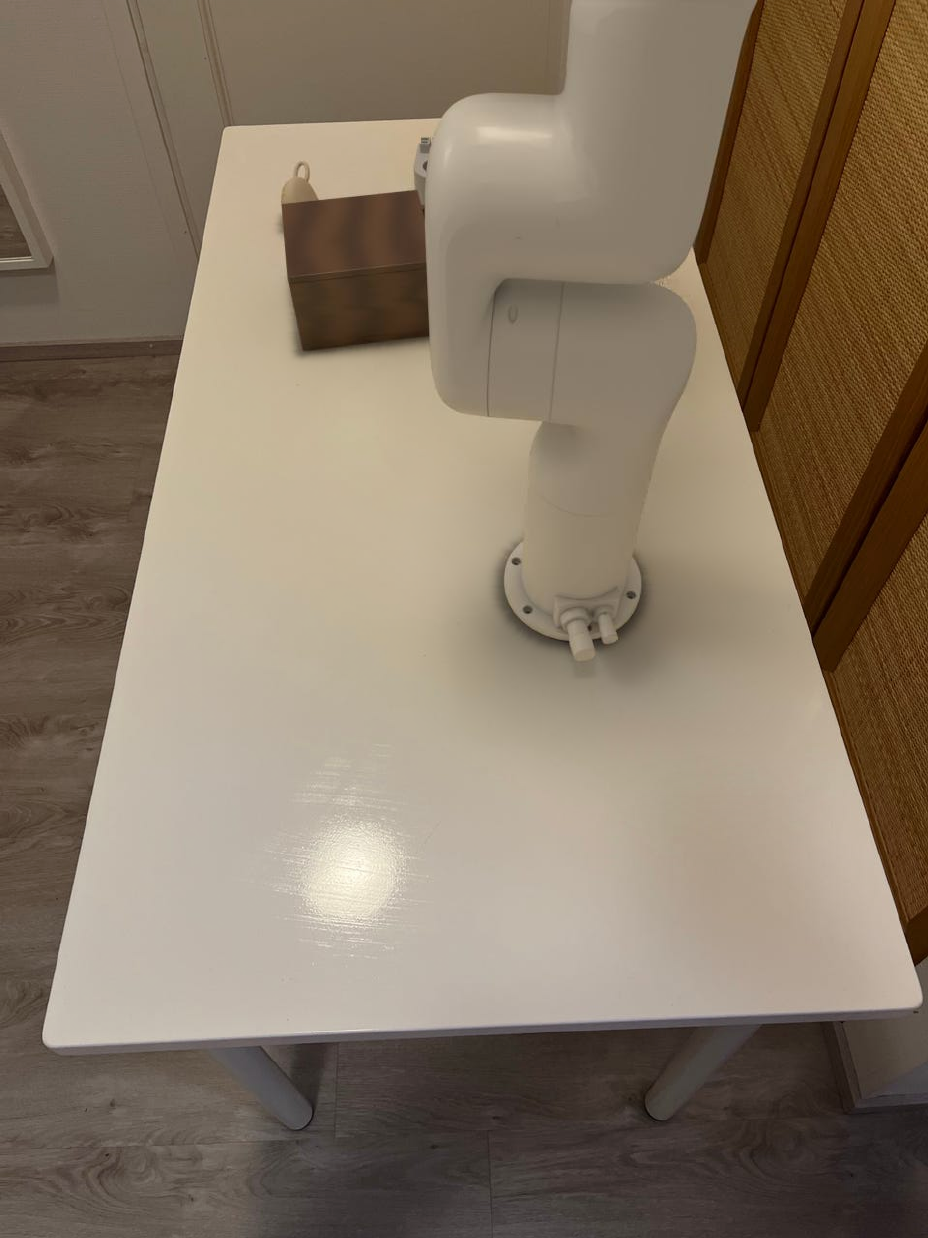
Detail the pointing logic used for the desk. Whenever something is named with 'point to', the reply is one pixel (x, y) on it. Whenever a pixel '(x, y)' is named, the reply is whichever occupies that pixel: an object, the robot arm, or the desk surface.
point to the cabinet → (357, 268)
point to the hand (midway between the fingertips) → (608, 169)
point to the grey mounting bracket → (421, 166)
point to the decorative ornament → (298, 187)
